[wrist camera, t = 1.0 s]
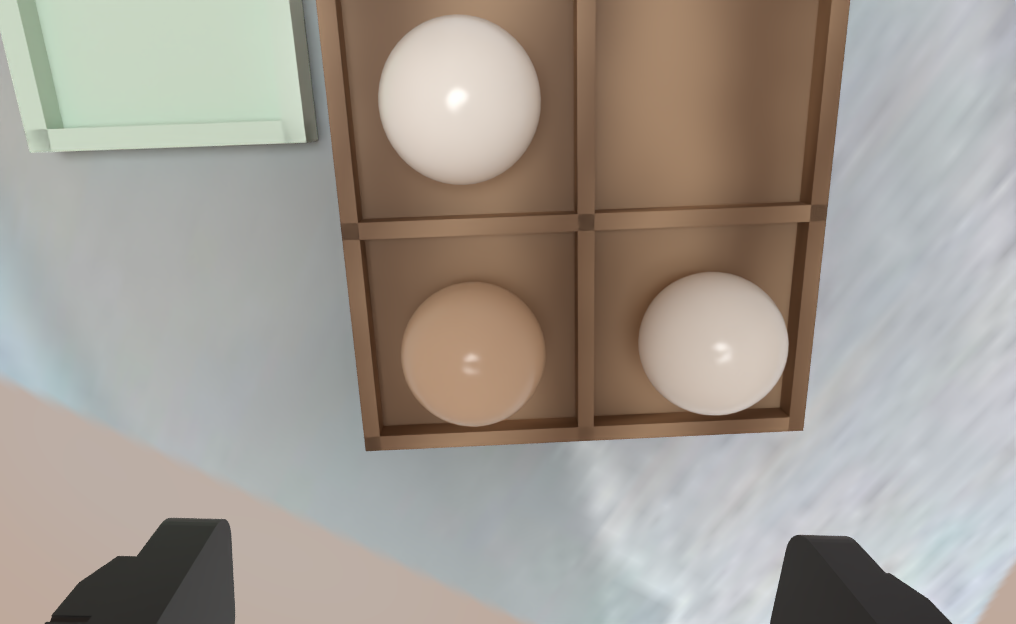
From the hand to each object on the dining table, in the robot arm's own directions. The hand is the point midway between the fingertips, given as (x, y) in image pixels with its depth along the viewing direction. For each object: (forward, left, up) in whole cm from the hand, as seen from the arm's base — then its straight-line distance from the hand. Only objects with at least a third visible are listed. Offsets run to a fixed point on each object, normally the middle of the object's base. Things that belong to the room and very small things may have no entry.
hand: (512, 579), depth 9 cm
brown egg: (+1, +2, -14) cm, 14 cm away
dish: (+12, -11, -19) cm, 25 cm away
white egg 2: (-7, +2, -14) cm, 16 cm away
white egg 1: (+1, -7, -14) cm, 15 cm away
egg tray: (-3, -3, -19) cm, 20 cm away
